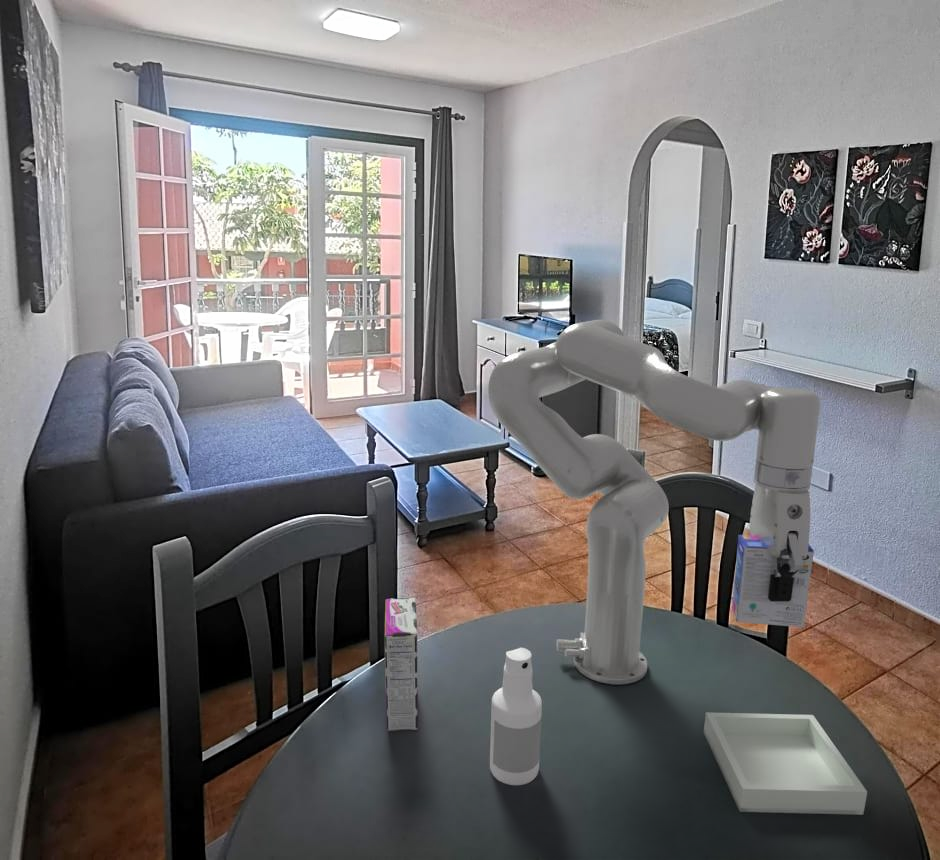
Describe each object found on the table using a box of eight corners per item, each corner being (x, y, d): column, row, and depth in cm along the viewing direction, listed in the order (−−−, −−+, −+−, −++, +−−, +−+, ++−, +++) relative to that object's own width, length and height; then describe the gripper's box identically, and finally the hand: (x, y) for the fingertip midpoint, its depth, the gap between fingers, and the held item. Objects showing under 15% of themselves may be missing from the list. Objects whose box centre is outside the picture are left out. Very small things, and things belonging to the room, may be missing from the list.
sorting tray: (739, 811, 97) (742, 788, 96) (703, 732, 112) (705, 712, 111) (863, 814, 97) (867, 791, 96) (809, 735, 112) (813, 714, 111)
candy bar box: (385, 689, 121) (384, 597, 117) (416, 688, 122) (416, 596, 118) (384, 733, 111) (383, 633, 107) (418, 731, 111) (418, 632, 107)
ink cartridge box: (796, 610, 114) (807, 522, 111) (806, 629, 109) (819, 536, 105) (729, 605, 116) (738, 518, 112) (736, 623, 110) (746, 532, 107)
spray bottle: (505, 793, 99) (509, 673, 95) (480, 761, 105) (484, 647, 101) (548, 777, 102) (554, 660, 98) (522, 747, 108) (527, 636, 104)
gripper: (839, 494, 99) (822, 617, 103) (782, 457, 115) (769, 565, 120) (783, 494, 98) (769, 618, 103) (734, 458, 115) (723, 566, 119)
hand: (769, 589), depth 111 cm, fingers closed on ink cartridge box, 6 cm apart
